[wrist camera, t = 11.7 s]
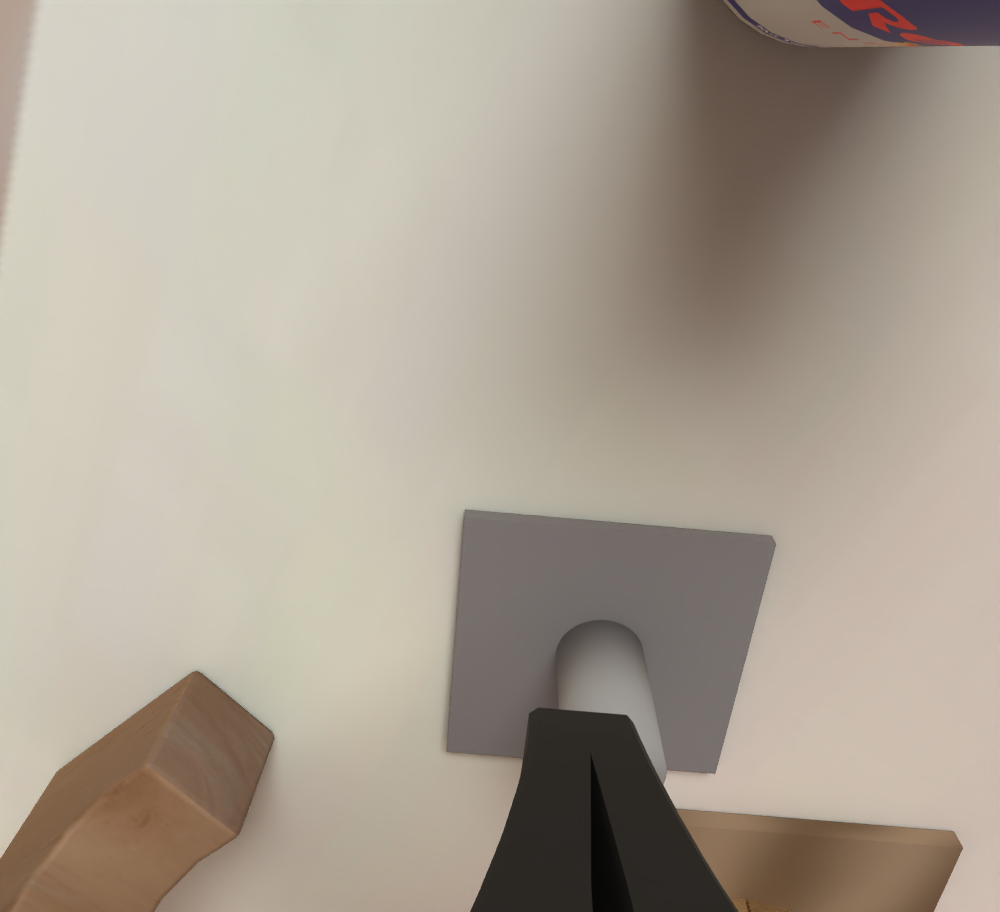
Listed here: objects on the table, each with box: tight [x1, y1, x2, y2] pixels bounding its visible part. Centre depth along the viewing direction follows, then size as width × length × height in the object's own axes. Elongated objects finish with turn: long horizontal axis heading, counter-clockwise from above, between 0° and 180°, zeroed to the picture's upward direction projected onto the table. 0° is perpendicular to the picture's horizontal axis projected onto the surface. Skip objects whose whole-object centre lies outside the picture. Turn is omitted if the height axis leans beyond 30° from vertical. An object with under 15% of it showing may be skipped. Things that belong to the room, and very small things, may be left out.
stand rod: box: [447, 510, 776, 784], centre depth 22 cm, size 8×8×5 cm
